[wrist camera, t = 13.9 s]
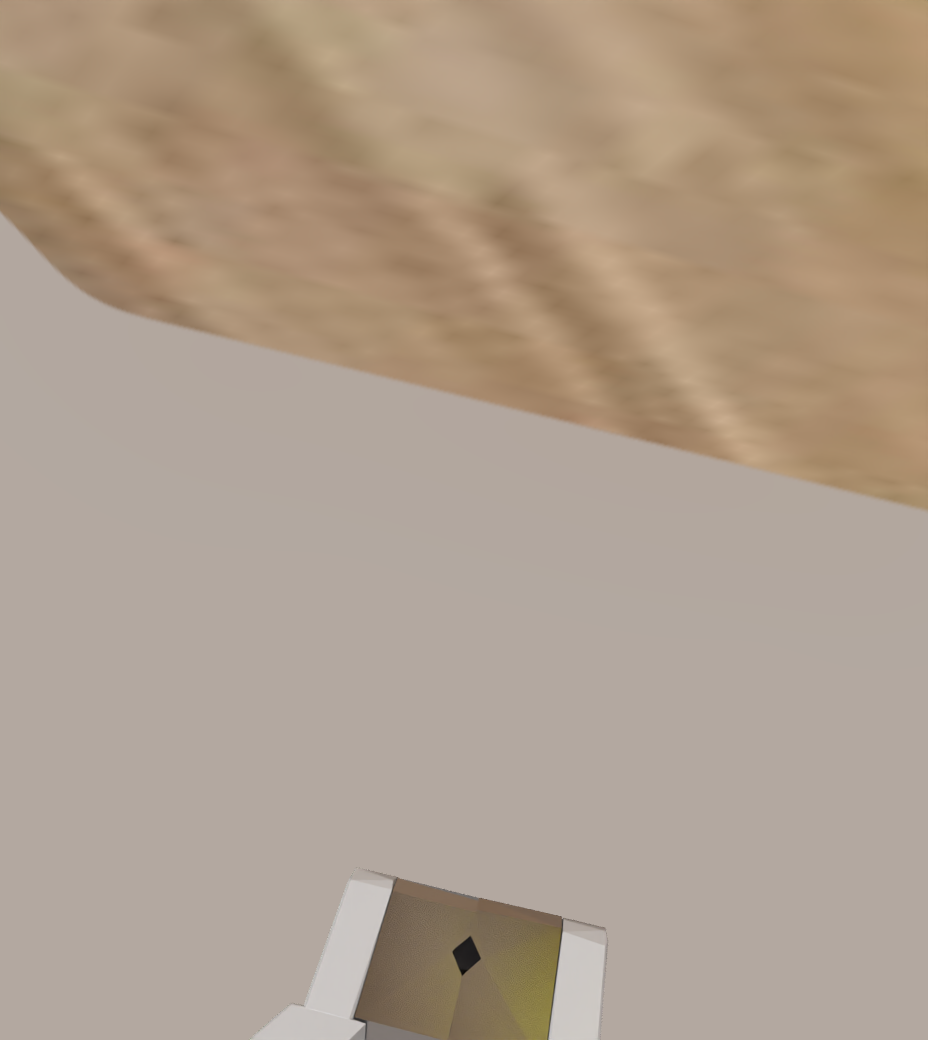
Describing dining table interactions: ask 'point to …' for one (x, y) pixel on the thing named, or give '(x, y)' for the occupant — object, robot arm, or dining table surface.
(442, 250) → the dining table surface
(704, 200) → the dining table surface
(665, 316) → the dining table surface
